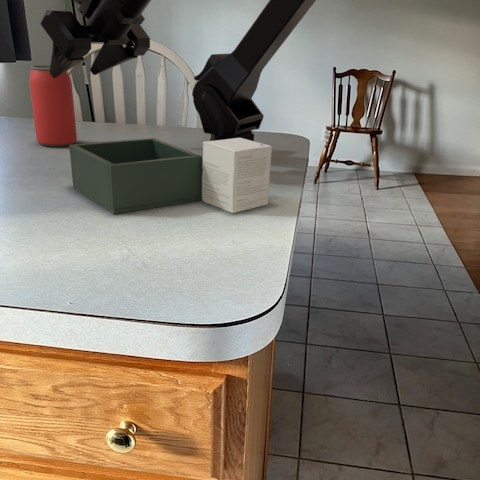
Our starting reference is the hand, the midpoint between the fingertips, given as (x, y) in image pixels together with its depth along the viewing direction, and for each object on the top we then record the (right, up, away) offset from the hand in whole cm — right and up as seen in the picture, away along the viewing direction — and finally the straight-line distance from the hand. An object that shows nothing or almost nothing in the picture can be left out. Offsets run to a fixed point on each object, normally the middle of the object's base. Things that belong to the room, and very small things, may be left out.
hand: (73, 74), depth 86 cm
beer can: (-5, -9, +7) cm, 13 cm away
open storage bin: (+13, -23, -16) cm, 31 cm away
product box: (+26, -24, -18) cm, 40 cm away
